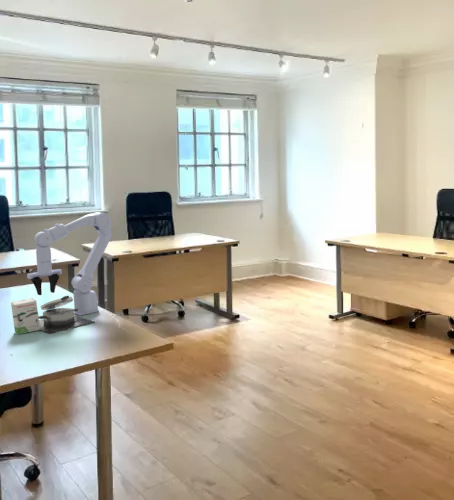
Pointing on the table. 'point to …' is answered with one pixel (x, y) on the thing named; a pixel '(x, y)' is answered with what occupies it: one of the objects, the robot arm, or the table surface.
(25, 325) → the ink box
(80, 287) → the robot arm
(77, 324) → the cooking pot
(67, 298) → the lid
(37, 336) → the table surface
